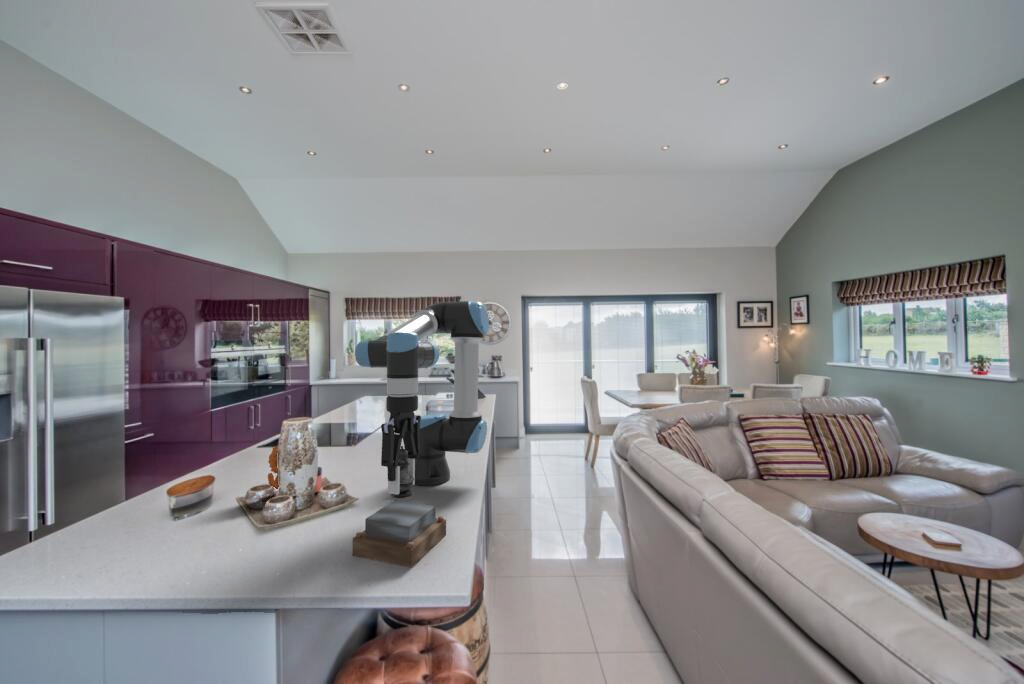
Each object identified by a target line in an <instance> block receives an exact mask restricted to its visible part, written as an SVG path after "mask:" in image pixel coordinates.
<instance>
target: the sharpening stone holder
mask: <svg viewBox="0 0 1024 684" xmlns="http://www.w3.org/2000/svg"><path fill="white" fill-rule="evenodd" d="M436 511H437V510H436V505H431V504H424V503H417V502H412V501H411V502H410V501H405V500H397V499H395V500H394V501H391V502H390V503H388V504H386V505H385V506H383V507H382V508H380V509H379V510H378V511H376V512H373V514H371V515H369V516H367V517H366V518H365V520H364V521H365V527H364V528H365V529H364V530H363V531H359V532H356V533H355V536H354V537H352V553H351V554H352V556H353V557H359V558H364V559H367V560H368V559H369V560H373V561H378V562H382V563H387V564H390V565H391V564H392V565H396V566H402V567H406V568H411V569H412V568H413V567H414V566H416V565H417V563H419V562H420V561H421V560H422V559H423V558H424V557H425V556H426V555H427V554H428V553H429V552H430V551H431V550H432V549H433V548H434V547H436V545H438V544H439V542H441V541H442V539H444V538H445V537H446V536H447V519H446V518H445V517H444V516H442V515H441V516H438V517H436Z"/></svg>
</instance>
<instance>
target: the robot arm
mask: <svg viewBox="0 0 1024 684" xmlns="http://www.w3.org/2000/svg"><path fill="white" fill-rule="evenodd" d="M489 326H490V322H489V315H488V311H487V309H486V307H485V305H484V304H483V303H482V302H480V301H476V300H475V301H474V300H472V301H471V300H468V301H466V300H464V301H463V300H462V301H461V300H460V301H441V302H440V301H439V302H437V303H433V304H431V305H428V306H426V307H424V308H422V309H419V310H417V311H416V312H415V313H414V314H413V316H412V317H411V319H408V320H407V321H405V322H403V323H402V324H400V325H398V326H396V327H395V328H393V329H392V330H390V331H388V332H387V333H385V334H383V335H381V336H380V337H378V338H376V339H373V340H371V339H368V340H367V339H366V340H361V341H359V342H358V343H357V345H356V346H355V349H354V356H355V361H356V363H357V365H359V366H360V367H362V368H363V367H364V368H371V369H372V368H376V369H377V368H379V369H380V368H382V369H383V368H386V394H388V395H387V397H385V398H386V404H385V405H386V407H385V408H386V411H387V412H389V413H390V415H389V418H388V422H387V423H382V424H381V427H380V428H381V434H382V435H381V438H382V439H381V459H380V462H381V463H380V464H381V467H385V468H386V467H387V483H388V484H387V494H390V495H391V494H396V495H398V494H400V466H397V465H398V459H399V453H400V449H401V446H402V441H403V445H404V446H403V448H404V449H405V450H407V451H408V463H409V465H408V474H409V476H411V477H413V478H414V481H413V484H412V486H428V487H429V486H436V485H440V484H443V483H446V482H448V481H450V479H451V470H450V467H449V463H448V460H447V458H446V452H450V453H451V452H452V453H461V454H463V453H464V454H477V453H479V452H481V450H482V449H483V447H484V444H485V442H486V439H487V433H488V423H487V421H486V420H484V419H482V418H483V415H482V414H483V413H481V412H480V411H479V410H478V409H479V407H478V406H479V403H478V402H479V392H478V391H479V358H480V357H479V351H480V350H479V348H480V346H479V345H480V343H481V342H482V341H483V340H484V335H486V334H487V333H488V332H489ZM435 334H436V335H437V334H450V339H451V341H452V342H453V343H454V368H453V369H454V371H453V372H454V374H453V375H454V377H453V378H454V379H453V380H454V381H453V382H454V383H453V410H452V411H451V412H450V413H449V415H448V416H449V418H447V416H446V413H431V414H424V415H418V414H416V415H415V412H416V411H417V410H418V409H419V396H418V395H417V394H418V393H419V370H420V369H428V368H430V367H433V366H434V365H436V363H438V361H439V359H440V350H439V348H438V346H437V345H436V343H435V342H433V341H429V340H427V339H426V340H424V338H426V337H427V338H428V337H430V336H433V335H435Z"/></svg>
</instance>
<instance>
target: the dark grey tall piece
mask: <svg viewBox="0 0 1024 684" xmlns="http://www.w3.org/2000/svg"><path fill="white" fill-rule="evenodd" d="M408 465H409V463H408V451H407V450H405V448H404V446H403V445H401V448H400V453H399V459H398V465H397V466H400V494H398V495H396V494H390V497H391V498H393V499H406V498H409V497H411V496H412V495H413V494H414V492H413V491H412V490H411V489H410V488H412V486H413V485H412V484H413V481H414V478H413V477H411V476H409V474H408Z"/></svg>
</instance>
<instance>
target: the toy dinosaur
mask: <svg viewBox="0 0 1024 684" xmlns="http://www.w3.org/2000/svg"><path fill="white" fill-rule="evenodd" d="M278 445H279V444H277V445H276V446H274V447H272V451H271V453H270V454H269V455H268V461H267V462H268V464H269V466H268V467H269V468H270V469H271V470H270V472H268V474H267V481H268V484H269V487H270V486H273V487H275V488H276V489H278V487H279V485H278V468H277V453H278ZM273 473H274V474H276V477H275V478H274V475H273Z"/></svg>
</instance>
